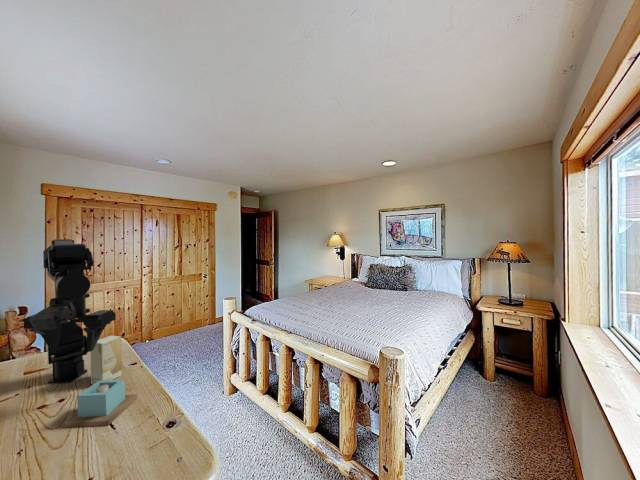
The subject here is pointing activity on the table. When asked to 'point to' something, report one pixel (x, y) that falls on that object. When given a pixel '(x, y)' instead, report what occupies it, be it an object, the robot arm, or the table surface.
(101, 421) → the post plate
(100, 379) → the skincare box
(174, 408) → the table surface
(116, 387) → the collar
